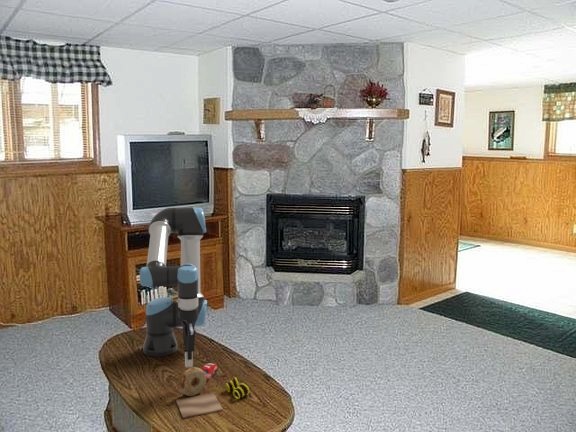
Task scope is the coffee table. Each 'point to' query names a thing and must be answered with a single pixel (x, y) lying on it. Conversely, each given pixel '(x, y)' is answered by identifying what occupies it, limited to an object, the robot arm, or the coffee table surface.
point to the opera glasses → (237, 388)
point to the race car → (209, 370)
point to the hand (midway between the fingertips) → (189, 366)
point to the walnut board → (198, 405)
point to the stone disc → (198, 383)
